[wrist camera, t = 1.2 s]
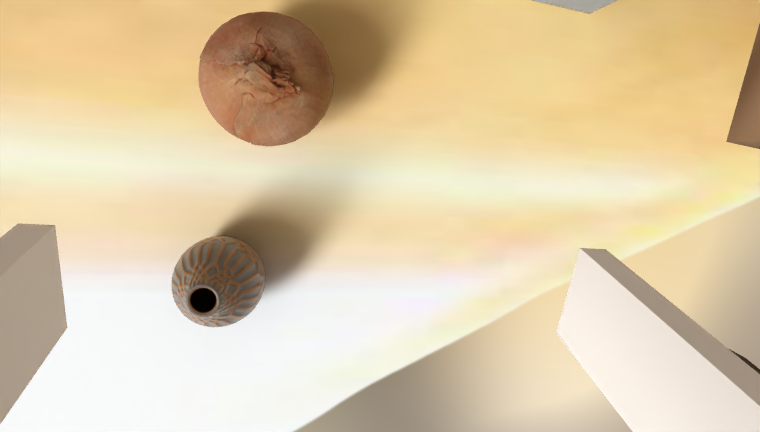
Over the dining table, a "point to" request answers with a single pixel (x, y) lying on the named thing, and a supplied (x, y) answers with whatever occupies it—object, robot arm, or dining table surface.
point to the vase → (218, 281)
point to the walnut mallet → (748, 104)
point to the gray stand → (579, 4)
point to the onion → (265, 78)
